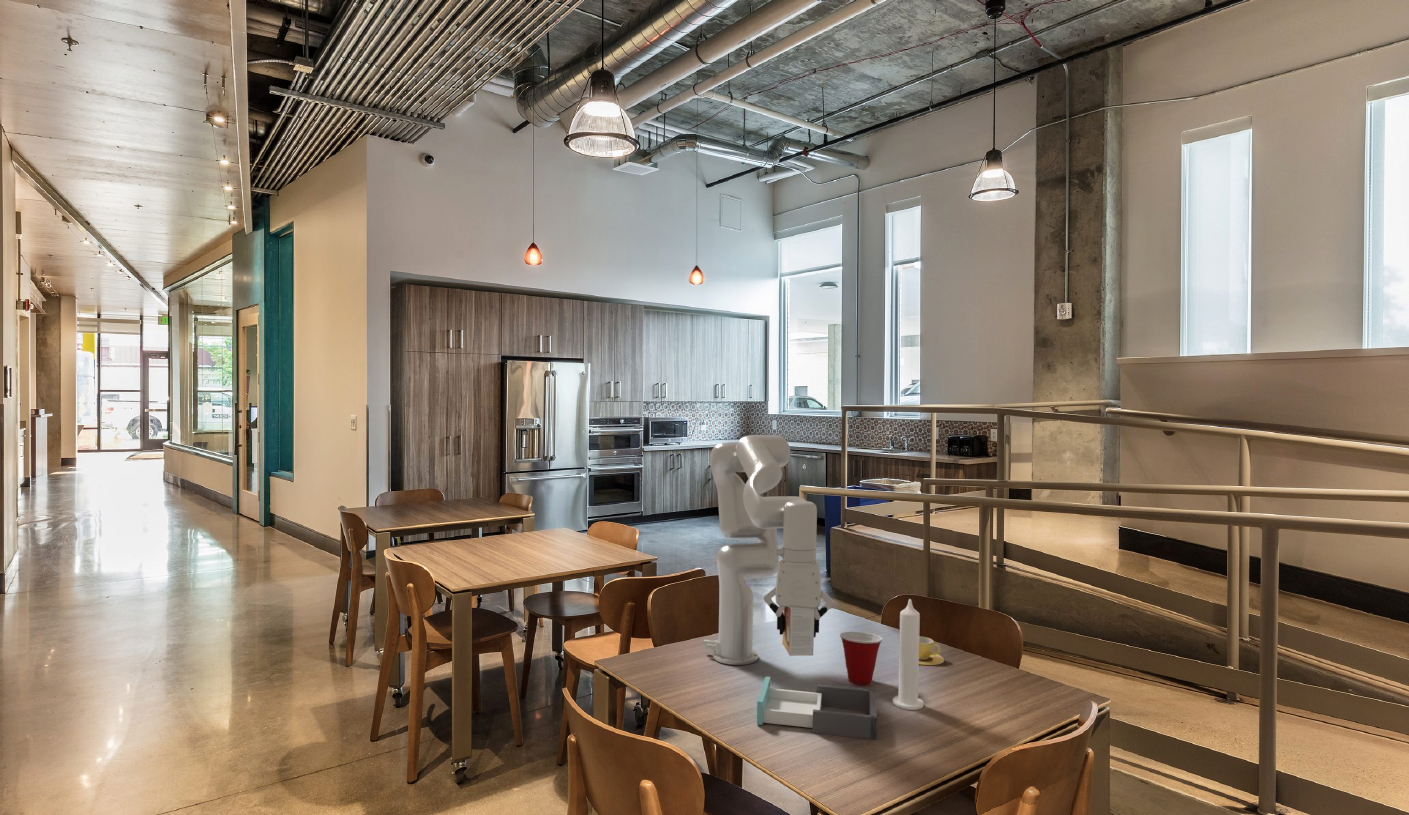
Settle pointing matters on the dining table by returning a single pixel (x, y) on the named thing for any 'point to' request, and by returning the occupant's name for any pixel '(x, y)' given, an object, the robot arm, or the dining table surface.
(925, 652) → the cup
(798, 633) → the small box
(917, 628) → the candle
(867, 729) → the bay
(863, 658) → the plastic cup
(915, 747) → the dining table surface
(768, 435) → the robot arm
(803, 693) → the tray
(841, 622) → the dining table surface
